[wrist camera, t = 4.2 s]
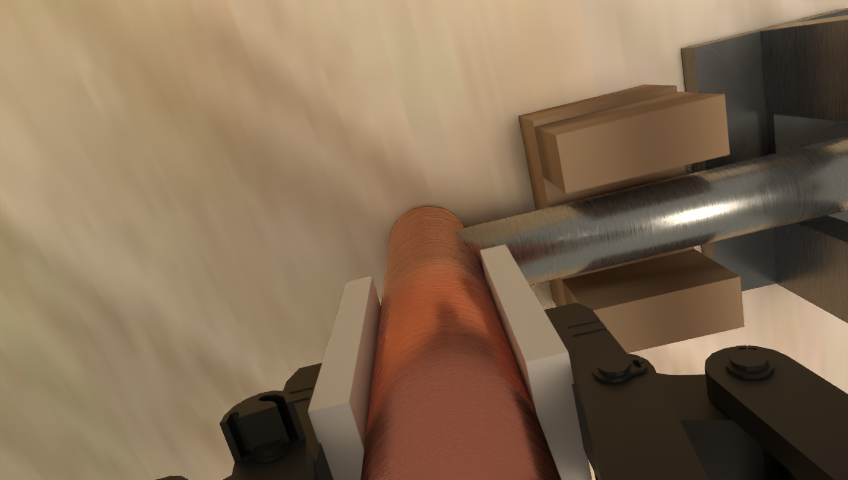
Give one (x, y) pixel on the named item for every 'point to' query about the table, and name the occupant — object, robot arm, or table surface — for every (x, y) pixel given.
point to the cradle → (626, 168)
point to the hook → (538, 261)
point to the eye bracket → (782, 143)
